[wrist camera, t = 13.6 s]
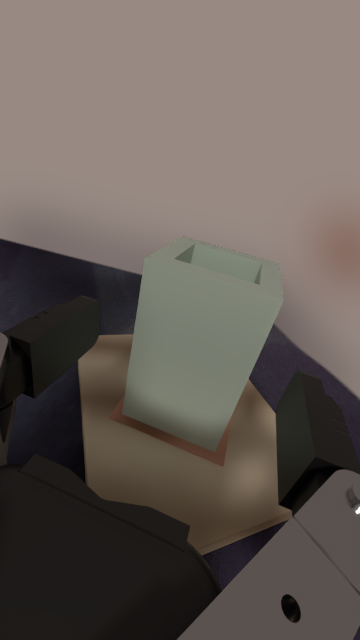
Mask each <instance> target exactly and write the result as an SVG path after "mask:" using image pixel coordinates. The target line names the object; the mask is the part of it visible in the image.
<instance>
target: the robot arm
mask: <svg viewBox="0 0 360 640" xmlns="http://www.w3.org/2000/svg"><path fill="white" fill-rule="evenodd" d="M100 316H101V303H100V302H99V301H97V300H94V299H91V298H88V297H86V296H79V297H77V298H75V299H74V300H72V301H70V302H68V303H67V302H66V303H62V304H57V305H53V306H51V307H49V308H48V309H46V310H44V311H43V312H40V313H38V314H36V315H34V317H31V318H29V319H27V320H25V321H23V322H21V323H20V324H18V325H16V326H14V327H12V328H10V329H8V330H6V331H5V332H3V333H0V640H353V638H354V636H355V634H356V632H357V629H358V627H359V625H360V465H359V462H358V459H357V456H356V453H355V450H354V447H353V444H352V441H351V438H350V436H349V431H348V428H347V425H345V423H346V422H345V419H344V416H343V413H342V410H341V409H340V408H339V406H338V405H337V404H336V402H335V401H334V400H333V398H332V397H330V396H327V395H325V392H324V389H323V385H322V381H321V379H320V378H318V377H315V376H312V375H309V374H306V373H303V372H301V371H297V372H296V373H295V374H294V376H293V378H292V379H291V381H290V383H289V385H288V387H287V388H286V390H285V392H284V394H283V395H282V397H281V399H280V401H279V403H278V406H277V410H276V445H277V477H278V505H280V506H282V507H284V508H287V509H289V510H291V511H292V517H291V518H290V519H289V520H288V522H287V523H286V524H285V525H284V526H283V527H282V528H281V529H280V530H279V531H278V532H277V533H276V534H275V535H274V536H273V538H272V539H271V540H270V541H269V542H268V543H267V544H266V545H265V546H264V547H263V548H262V549H261V550H260V551H259V552H258V554H257V555H256V556H255V557H254V558H253V559H252V560H251V561H250V562H249V563H248V564H247V565H246V566H245V567H244V568H243V570H242V571H241V572H240V573H239V574H238V575H237V576H236V577H235V578H234V579H233V580H232V581H231V582H230V583H229V585H228V586H227V587H226V588H225V589H224V590H223V591H222V589H221V587H220V584H219V582H218V580H217V578H216V577H215V575H214V573H213V571H212V570H211V568H210V566H209V565H208V564H207V562H206V561H205V559H204V558H203V557H202V555H201V554H200V553H199V552H198V551H197V550H196V549H195V547H194V546H192V545H191V544H190V543H189V542H188V541H187V538H188V534H189V530H190V525H188V524H185V523H183V522H181V521H179V520H177V519H175V518H173V517H170V516H168V515H166V514H164V513H162V512H160V511H158V510H156V509H153V508H151V507H149V506H142V505H136V504H129V503H122V502H116V501H109V500H104V499H102V498H101V497H99V496H98V495H97V494H96V493H95V492H94V491H93V490H92V489H91V488H90V487H89V486H87V485H86V484H85V483H84V482H83V481H82V480H81V479H80V478H79V477H78V476H77V475H76V474H75V473H74V472H73V471H71V470H70V469H68V468H66V467H64V466H62V465H60V464H57V463H55V462H53V461H51V460H49V459H47V458H45V457H43V456H40V455H38V454H36V453H35V454H34V455H33V456H32V457H31V459H30V460H29V461H28V462H27V463H26V464H25V465H22V464H8V465H7V451H8V445H9V440H10V435H11V430H12V424H13V419H14V414H15V409H16V398H17V397H18V396H19V395H21V394H22V393H23V394H25V395H28V396H30V397H32V398H36V397H37V396H38V395H39V394H40V393H41V392H43V391H44V390H45V389H46V388H47V387H48V386H49V385H50V384H52V383H53V382H54V381H55V380H56V379H57V378H58V377H59V376H61V375H62V374H63V373H64V372H65V371H66V370H67V369H68V368H70V367H71V366H72V365H73V364H74V363H75V362H76V361H77V360H79V359H80V358H81V357H82V356H83V355H84V354H85V353H86V352H88V351H89V350H90V349H91V348H92V347H93V346H94V345H95V343H96V342H97V339H98V337H99V330H100Z"/></svg>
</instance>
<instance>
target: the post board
mask: <svg viewBox="0 0 360 640" xmlns="http://www.w3.org/2000/svg"><path fill="white" fill-rule="evenodd" d="M133 335H134V334H127V335H99V337H98V339H97V342H96V343H95V345H94V346H93V347H92V348H91V349H90V350H89V351H88V352H86V353H85V354H84V355H83V356H82V357H81V358H80V359H79V360H78V371H79V386H80V401H81V416H82V431H83V446H84V460H85V475H86V485H87V486H89V487H90V488H91V489H92V490H93V491H94V492H95V493H96V494H97V495H98V496H99V497H101V498H102V499H104V500H109V501H116V502H122V503H129V504H136V505H142V506H149V507H151V508H153V509H156V510H158V511H160V512H162V513H164V514H166V515H168V516H170V517H173V518H175V519H177V520H179V521H181V522H183V523H185V524H188V525H190V530H189V534H188V538H187V541H188V542H189V543H190V544H191V545H192V546H194V547H195V549H196V550H197V551H198V552H199V553H200V554H201V555H204V554H206V553H209V552H211V551H214V550H216V549H218V548H221V547H223V546H226V545H228V544H231V543H233V542H235V541H238V540H240V539H243V538H245V537H247V536H250V535H252V534H255V533H257V532H259V531H262V530H264V529H267V528H269V527H271V526H274V525H276V524H279V523H281V522H284V521H286V520H288V519H290V518H291V517H292V511H291V510H289V509H287V508H284V507H282V506H280V505H278V477H277V445H276V414H275V413H274V411H273V410H272V409H271V408H270V406H269V405H268V404H267V402H266V401H265V400H264V398H263V397H262V396H261V395H260V393H259V392H258V391H257V389H256V388H255V387H254V386H253V384H252V383H251V382H250V380H249V379H248V381H247V383H246V385H245V387H244V389H243V392H242V394H241V396H240V398H239V400H238V403H237V405H236V407H235V409H234V411H233V414H232V416H231V418H230V420H229V422H228V425H227V427H226V429H225V431H224V434H223V436H222V438H221V440H220V442H219V445H218V447H217V449H216V451H215V453H214V452H212V451H210V450H207V449H205V448H202V447H200V446H198V445H195V444H193V443H190V442H188V441H186V440H183V439H181V438H178V437H176V436H174V435H171V434H169V433H167V432H164V431H162V430H159V429H157V428H155V427H152V426H150V425H147V424H145V423H143V422H140V421H138V420H135V419H133V418H131V417H128V416H126V415H123V414H122V409H123V402H124V395H125V389H126V382H127V375H128V368H129V362H130V355H131V348H132V341H133Z"/></svg>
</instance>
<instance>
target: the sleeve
mask: <svg viewBox="0 0 360 640" xmlns="http://www.w3.org/2000/svg"><path fill="white" fill-rule="evenodd" d="M283 301H284V298H283V290H282V283H281V276H280V268H279V264H278V263H275V262H271V261H268V260H264V259H261V258H257V257H254V256H250V255H247V254H243V253H240V252H236V251H233V250H229V249H226V248H223V247H219V246H216V245H212V244H209V243H205V242H201V241H198V240H194V239H191V238H188V237H184V236H183V237H181V238H180V239H178V240H176V241H174V242H172V243H170V244H169V245H167V246H165V247H163V248H161V249H159V250H158V251H156V252H154V253H152V254H150V255H148V256H147V257H145V261H144V267H143V274H142V281H141V287H140V294H139V301H138V308H137V314H136V321H135V328H134V335H133V341H132V348H131V355H130V362H129V368H128V375H127V382H126V389H125V395H124V402H123V409H122V414H123V415H126V416H128V417H131V418H133V419H135V420H138V421H140V422H143V423H145V424H147V425H150V426H152V427H155V428H157V429H159V430H162V431H164V432H167V433H169V434H171V435H174V436H176V437H178V438H181V439H183V440H186V441H188V442H190V443H193V444H195V445H198V446H200V447H202V448H205V449H207V450H210V451H212V452H214V453H215V451H216V449H217V447H218V445H219V442H220V440H221V438H222V436H223V434H224V431H225V429H226V427H227V425H228V422H229V420H230V418H231V416H232V414H233V411H234V409H235V407H236V405H237V403H238V400H239V398H240V396H241V394H242V392H243V389H244V387H245V385H246V383H247V381H248V378H249V376H250V374H251V372H252V370H253V367H254V365H255V363H256V361H257V359H258V356H259V354H260V352H261V350H262V347H263V345H264V343H265V341H266V339H267V336H268V334H269V332H270V330H271V328H272V325H273V323H274V321H275V319H276V317H277V314H278V312H279V310H280V308H281V306H282V303H283Z"/></svg>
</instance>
